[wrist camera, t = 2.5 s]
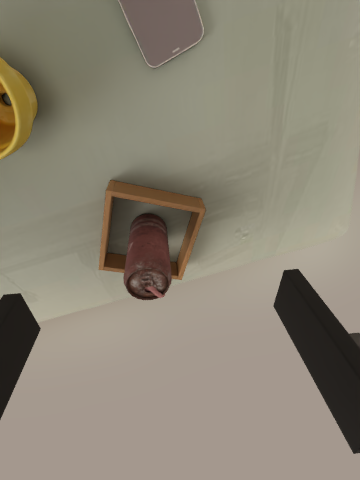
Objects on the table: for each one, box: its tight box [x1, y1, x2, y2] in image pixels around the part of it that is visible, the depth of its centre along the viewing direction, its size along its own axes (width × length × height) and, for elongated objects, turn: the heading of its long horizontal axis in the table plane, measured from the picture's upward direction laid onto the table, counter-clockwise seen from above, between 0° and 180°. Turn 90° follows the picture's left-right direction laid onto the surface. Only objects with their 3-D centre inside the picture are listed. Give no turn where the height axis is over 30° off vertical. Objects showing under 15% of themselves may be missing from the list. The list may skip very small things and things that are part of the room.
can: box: [124, 214, 172, 300], centre depth 35 cm, size 6×6×14 cm
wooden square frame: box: [99, 180, 206, 280], centre depth 39 cm, size 15×15×4 cm
